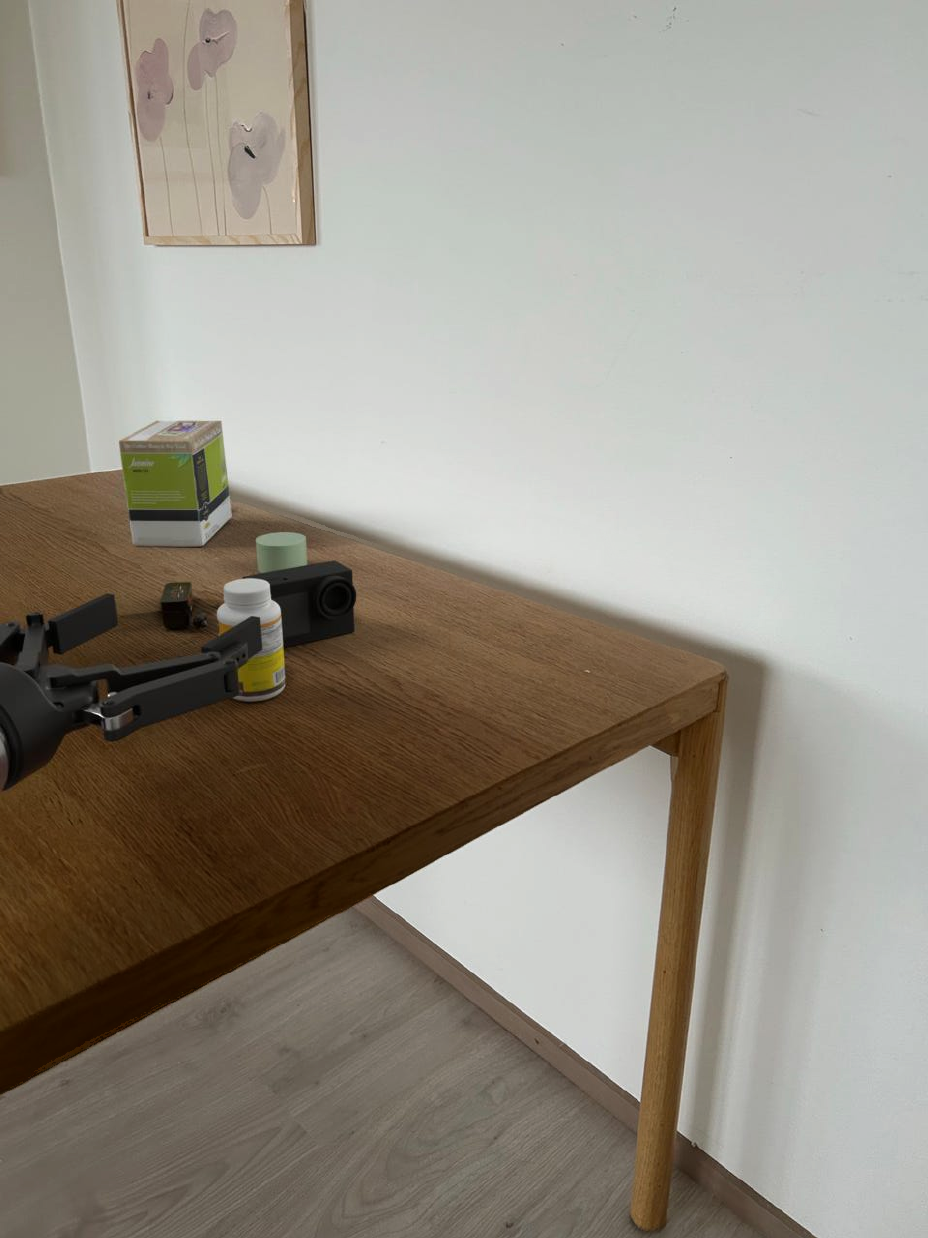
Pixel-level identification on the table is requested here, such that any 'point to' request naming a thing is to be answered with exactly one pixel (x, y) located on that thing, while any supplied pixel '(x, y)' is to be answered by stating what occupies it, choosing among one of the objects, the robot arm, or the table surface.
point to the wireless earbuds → (179, 607)
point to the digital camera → (312, 600)
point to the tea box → (175, 482)
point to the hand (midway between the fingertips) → (183, 620)
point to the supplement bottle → (267, 666)
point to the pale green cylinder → (280, 551)
